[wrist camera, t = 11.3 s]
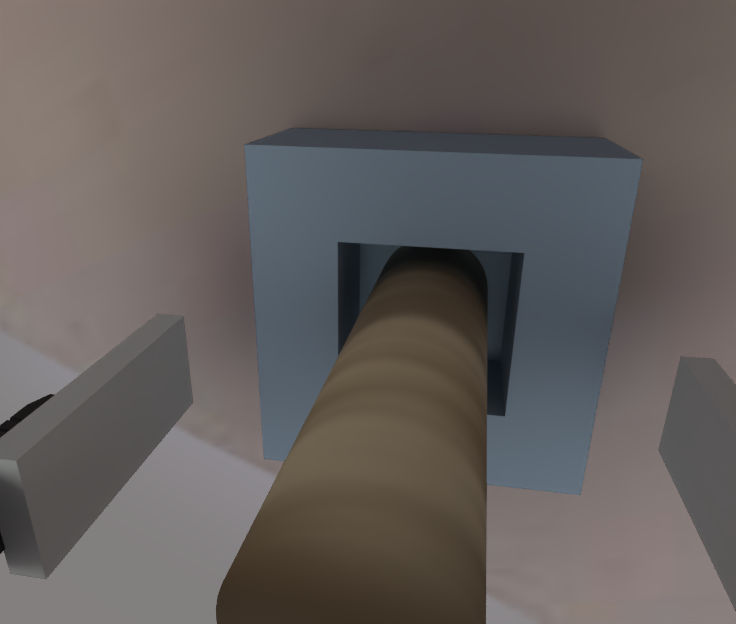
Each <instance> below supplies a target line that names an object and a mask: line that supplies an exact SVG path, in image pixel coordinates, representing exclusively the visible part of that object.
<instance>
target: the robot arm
mask: <svg viewBox="0 0 736 624" xmlns="http://www.w3.org/2000/svg"><path fill="white" fill-rule="evenodd" d="M192 403H193V397H192V388H191V379H190V370H189V361H188V352H187V343H186V334H185V326H184V317H183V316H177V315H165V314H157V315H155V316H154V317H153V318H152V319H150V320H149V321H148V322H147V323H145V324H144V325H143V326H142V327H140V328H139V329H138V330H136V331H135V332H134V333H133V334H131V335H130V336H129V337H128V338H126V339H125V340H124V341H122V342H121V343H120V344H119V345H117V346H116V347H115V348H114V349H112V350H111V351H110V352H109V353H107V354H106V355H105V356H103V357H102V358H101V359H100V360H98V361H97V362H96V363H95V364H93V365H92V366H91V367H90V368H88V369H87V370H86V371H84V372H83V373H82V374H81V375H79V376H78V377H77V378H76V379H74V380H73V381H72V382H71V383H69V384H68V385H67V386H66V387H64V388H63V389H62V390H60V391H59V392H58V393H57V394H55V395H53V394H50V395H47V396H45V397H43V398H41V399H39V400H37V401H34V402H32V403H30V404H28V405H26V406H25V407H24V408H22V409H21V410H20V411H18V412H17V413H16V414H14V416H12V417H11V418H10V420H7V421H5V422H4V423H3V424H1V425H0V554H1V553H2V551H3V550H4V553H5V556H6V560H7V564H8V567H9V571H10V573H11V574H15V575H21V576H28V577H34V578H41V579H47V577H49V575H50V574H51V573H52V572H53V571H54V569H55V568H56V567H57V566H58V565H59V563H60V562H61V561H62V560H63V558H64V557H65V556H66V555H67V554H68V552H69V551H70V550H71V549H72V548H73V546H74V545H75V544H76V543H77V542H78V540H79V539H80V538H81V537H82V536H83V534H84V533H85V532H86V531H87V530H88V528H89V527H90V526H91V525H92V524H93V522H94V521H95V520H96V519H97V518H98V516H99V515H100V514H101V513H102V512H103V510H104V509H105V508H106V507H107V506H108V504H109V503H110V502H111V501H112V499H113V498H114V497H115V496H116V495H117V493H118V492H119V491H120V490H121V489H122V487H123V486H124V485H125V484H126V483H127V481H128V480H129V479H130V478H131V477H132V475H133V474H134V473H135V472H136V471H137V469H138V468H139V467H140V466H141V465H142V463H143V462H144V461H145V460H146V459H147V457H148V456H149V455H150V454H151V453H152V451H153V450H154V449H155V448H156V447H157V445H158V444H159V443H160V442H161V441H162V439H163V438H164V437H165V436H166V434H167V433H168V432H169V431H170V430H171V428H172V427H173V426H174V425H175V424H176V422H177V421H178V420H179V419H180V418H181V416H182V415H183V414H184V413H185V412H186V410H187V409H188V408H189V407H190V406H191V404H192ZM659 452H660V454H661V456H662V458H663V461H664V463H665V465H666V467H667V469H668V471H669V473H670V475H671V477H672V479H673V481H674V484H675V486H676V488H677V490H678V492H679V494H680V496H681V498H682V500H683V502H684V504H685V507H686V509H687V511H688V513H689V515H690V517H691V519H692V521H693V523H694V525H695V527H696V529H697V532H698V534H699V536H700V538H701V540H702V542H703V544H704V546H705V548H706V550H707V552H708V555H709V557H710V559H711V561H712V563H713V565H714V567H715V569H716V571H717V573H718V575H719V578H720V580H721V582H722V584H723V586H724V588H725V590H726V592H727V594H728V596H729V598H730V601H731V603H732V605H733V607H734V609H735V611H736V385H735V384H734V382H733V381H732V380H731V379H730V377H729V376H728V375H727V374H726V372H725V371H724V370H723V369H722V368H721V366H720V365H719V364H718V363H717V361H716V360H715V359H709V358H696V357H684V356H681V359H680V363H679V367H678V371H677V375H676V379H675V384H674V388H673V392H672V396H671V400H670V404H669V409H668V413H667V417H666V421H665V425H664V429H663V434H662V438H661V442H660V446H659Z"/></svg>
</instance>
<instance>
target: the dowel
mask: <svg viewBox="0 0 736 624" xmlns="http://www.w3.org/2000/svg"><path fill="white" fill-rule="evenodd" d="M487 331H488V284H487V278H486V274H485V271H484V269H483V266H482V265H481V263H480V261H479V260H478V259H477V257H476V256H475V255H474V254H473V253H472V252H471V251H470V250H465V249H449V248H432V247H415V246H401V247H400V248H398V249H397V250H396V251H395V252H394V253H393V254H392V255H391V256H390V258H389V259H388V260H387V262H386V264H385V266H384V268H383V270H382V272H381V274H380V276H379V278H378V279H377V281H376V283H375V285H374V287H373V289H372V291H371V293H370V295H369V297H368V299H367V301H366V303H365V305H364V307H363V309H362V311H361V313H360V315H359V317H358V319H357V321H356V323H355V325H354V326H353V328H352V330H351V332H350V334H349V336H348V338H347V340H346V342H345V344H344V346H343V348H342V350H341V352H340V354H339V356H338V358H337V360H336V362H335V364H334V366H333V368H332V370H331V371H330V373H329V375H328V377H327V379H326V381H325V383H324V385H323V387H322V389H321V391H320V393H319V395H318V397H317V399H316V401H315V403H314V405H313V407H312V409H311V411H310V413H309V415H308V417H307V418H306V420H305V422H304V424H303V426H302V428H301V430H300V432H299V434H298V436H297V438H296V440H295V442H294V444H293V446H292V448H291V450H290V452H289V454H288V456H287V458H286V460H285V462H284V463H283V465H282V467H281V469H280V471H279V473H278V475H277V477H276V479H275V481H274V483H273V485H272V487H271V489H270V491H269V493H268V495H267V497H266V499H265V501H264V503H263V505H262V507H261V509H260V511H259V512H258V514H257V516H256V518H255V520H254V522H253V524H252V526H251V528H250V530H249V532H248V534H247V536H246V538H245V540H244V542H243V544H242V546H241V548H240V550H239V552H238V554H237V556H236V557H235V559H234V561H233V563H232V566H231V567H230V569H229V571H228V573H227V575H226V577H225V579H224V581H223V583H222V585H221V588H220V591H219V594H218V598H217V605H216V619H217V624H486V501H487Z"/></svg>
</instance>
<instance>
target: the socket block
mask: <svg viewBox="0 0 736 624" xmlns="http://www.w3.org/2000/svg"><path fill="white" fill-rule="evenodd" d="M244 146H245V162H246V178H247V194H248V210H249V226H250V242H251V258H252V274H253V290H254V306H255V323H256V339H257V355H258V371H259V387H260V403H261V419H262V435H263V451H264V459H270V460H278V461H285V460H286V458H287V456H288V454H289V452H290V450H291V448H292V446H293V444H294V442H295V440H296V438H297V436H298V434H299V432H300V430H301V428H302V426H303V424H304V422H305V420H306V418H307V417H308V415H309V413H310V411H311V409H312V407H313V405H314V403H315V401H316V399H317V397H318V395H319V393H320V391H321V389H322V387H323V385H324V383H325V381H326V379H327V377H328V375H329V373H330V371H331V370H332V368H333V366H334V364H335V362H336V360H337V358H338V356H339V354H340V352H341V350H342V348H343V346H344V344H345V342H346V340H347V338H348V336H349V334H350V332H351V330H352V328H353V326H354V325H355V323H356V321H357V319H358V317H359V315H360V313H361V311H362V309H363V307H364V305H365V303H366V301H367V299H368V297H369V295H370V293H371V291H372V289H373V287H374V285H375V283H376V281H377V279H378V278H379V276H380V274H381V272H382V270H383V268H384V266H385V264H386V262H387V260H388V259H389V258H390V256H391V255H392V254H393V253H394V252H395V251H396V250H397V249H398V248H400V247H401V246H415V247H432V248H449V249H465V250H470V251H471V252H472V253H473V254H474V255H475V256H476V257H477V259H478V260H479V261H480V263H481V265H482V266H483V269H484V271H485V274H486V278H487V284H488V331H487V484H488V485H496V486H505V487H514V488H522V489H531V490H540V491H549V492H557V493H566V494H575V495H581V489H582V484H583V479H584V473H585V468H586V463H587V457H588V452H589V447H590V441H591V436H592V430H593V425H594V420H595V414H596V409H597V404H598V398H599V393H600V388H601V382H602V377H603V372H604V366H605V361H606V356H607V350H608V345H609V339H610V334H611V329H612V323H613V318H614V313H615V307H616V302H617V297H618V291H619V286H620V281H621V275H622V270H623V265H624V259H625V254H626V248H627V243H628V238H629V232H630V227H631V222H632V216H633V211H634V206H635V200H636V195H637V190H638V184H639V179H640V174H641V168H642V163H643V159H642V158H640V157H638V156H636V155H635V154H633V153H631V152H629V151H627V150H626V149H624V148H622V147H620V146H618V145H617V144H615V143H613V142H611V141H610V140H608V139H606V138H586V137H555V136H525V135H494V134H463V133H432V132H401V131H370V130H340V129H309V128H290V129H288V130H285V131H282V132H279V133H276V134H273V135H270V136H268V137H265V138H262V139H259V140H256V141H253V142H250V143H248V144H245V145H244Z"/></svg>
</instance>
